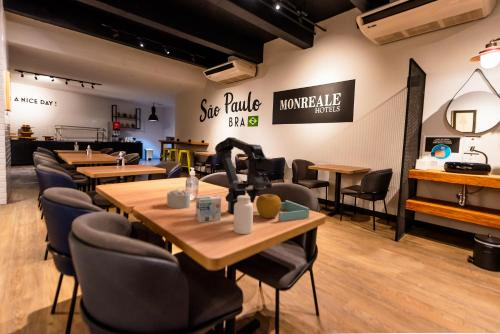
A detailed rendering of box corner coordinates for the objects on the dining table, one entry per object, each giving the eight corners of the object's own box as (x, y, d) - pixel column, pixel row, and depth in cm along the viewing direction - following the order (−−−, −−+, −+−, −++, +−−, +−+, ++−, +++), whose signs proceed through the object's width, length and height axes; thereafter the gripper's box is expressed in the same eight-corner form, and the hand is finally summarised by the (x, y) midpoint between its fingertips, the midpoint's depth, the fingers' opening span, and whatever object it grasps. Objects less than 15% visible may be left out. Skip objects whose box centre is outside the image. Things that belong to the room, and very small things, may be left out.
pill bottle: (233, 228, 114) (234, 194, 113) (251, 228, 115) (252, 194, 114) (233, 234, 106) (234, 198, 105) (253, 234, 107) (254, 198, 106)
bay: (279, 221, 126) (280, 211, 125) (259, 211, 143) (259, 202, 142) (309, 218, 134) (309, 208, 134) (286, 208, 152) (286, 200, 151)
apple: (251, 214, 138) (252, 192, 136) (273, 212, 143) (274, 191, 142) (262, 221, 126) (263, 197, 125) (285, 219, 131) (286, 196, 130)
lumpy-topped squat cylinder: (178, 202, 157) (179, 188, 156) (194, 206, 149) (194, 191, 149) (164, 205, 148) (164, 190, 147) (180, 209, 141) (180, 193, 140)
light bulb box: (199, 222, 120) (199, 199, 119) (195, 218, 126) (195, 196, 125) (221, 220, 125) (221, 198, 124) (216, 216, 131) (216, 195, 130)
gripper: (243, 173, 116) (242, 208, 117) (278, 172, 125) (277, 204, 126) (233, 170, 126) (232, 202, 127) (266, 169, 134) (265, 199, 136)
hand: (252, 202), depth 129 cm, fingers closed
